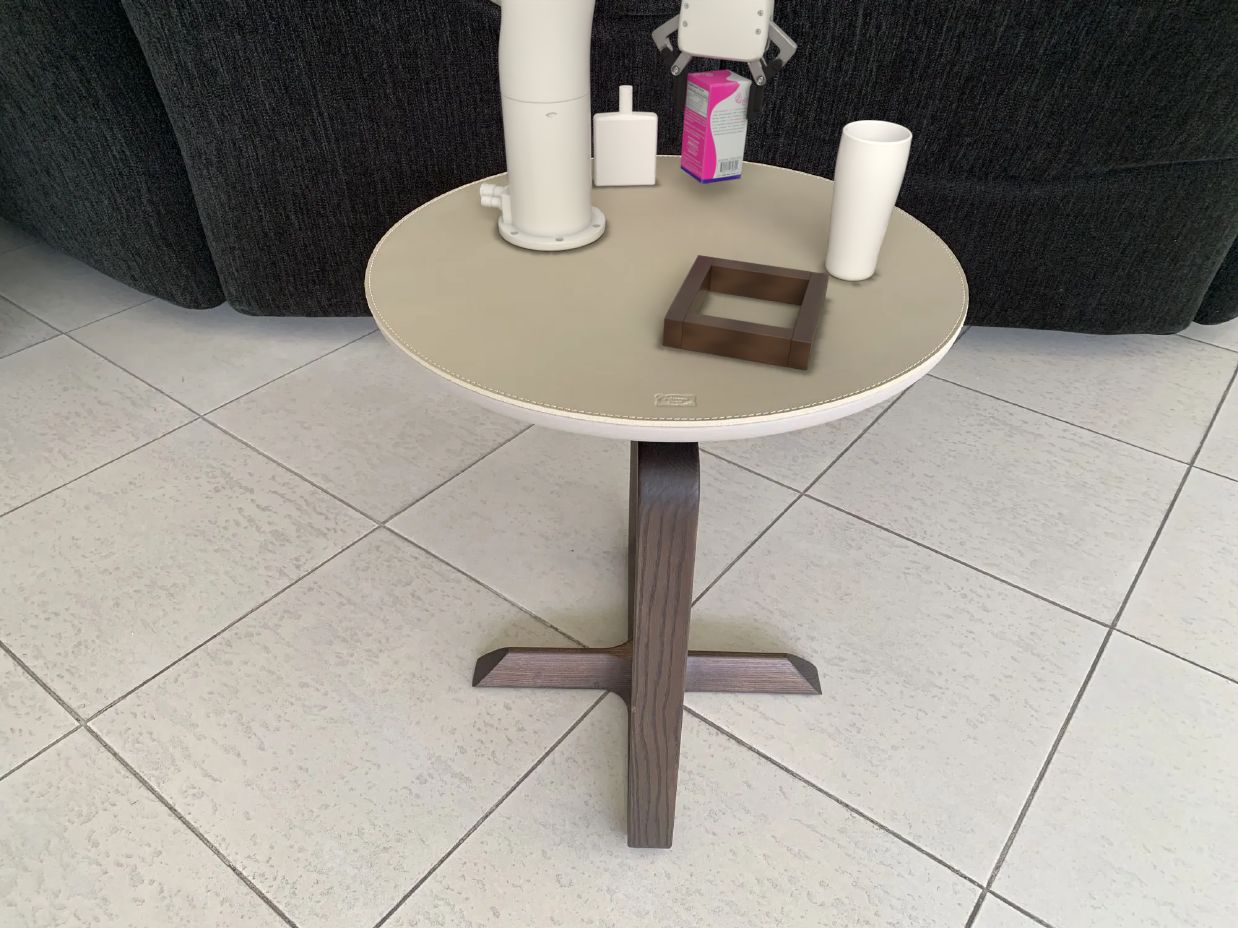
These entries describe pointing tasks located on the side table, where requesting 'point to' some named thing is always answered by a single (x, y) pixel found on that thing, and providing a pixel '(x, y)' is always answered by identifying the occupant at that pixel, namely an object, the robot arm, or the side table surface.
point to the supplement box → (715, 125)
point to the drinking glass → (864, 195)
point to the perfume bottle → (625, 145)
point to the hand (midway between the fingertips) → (716, 112)
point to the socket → (742, 336)
